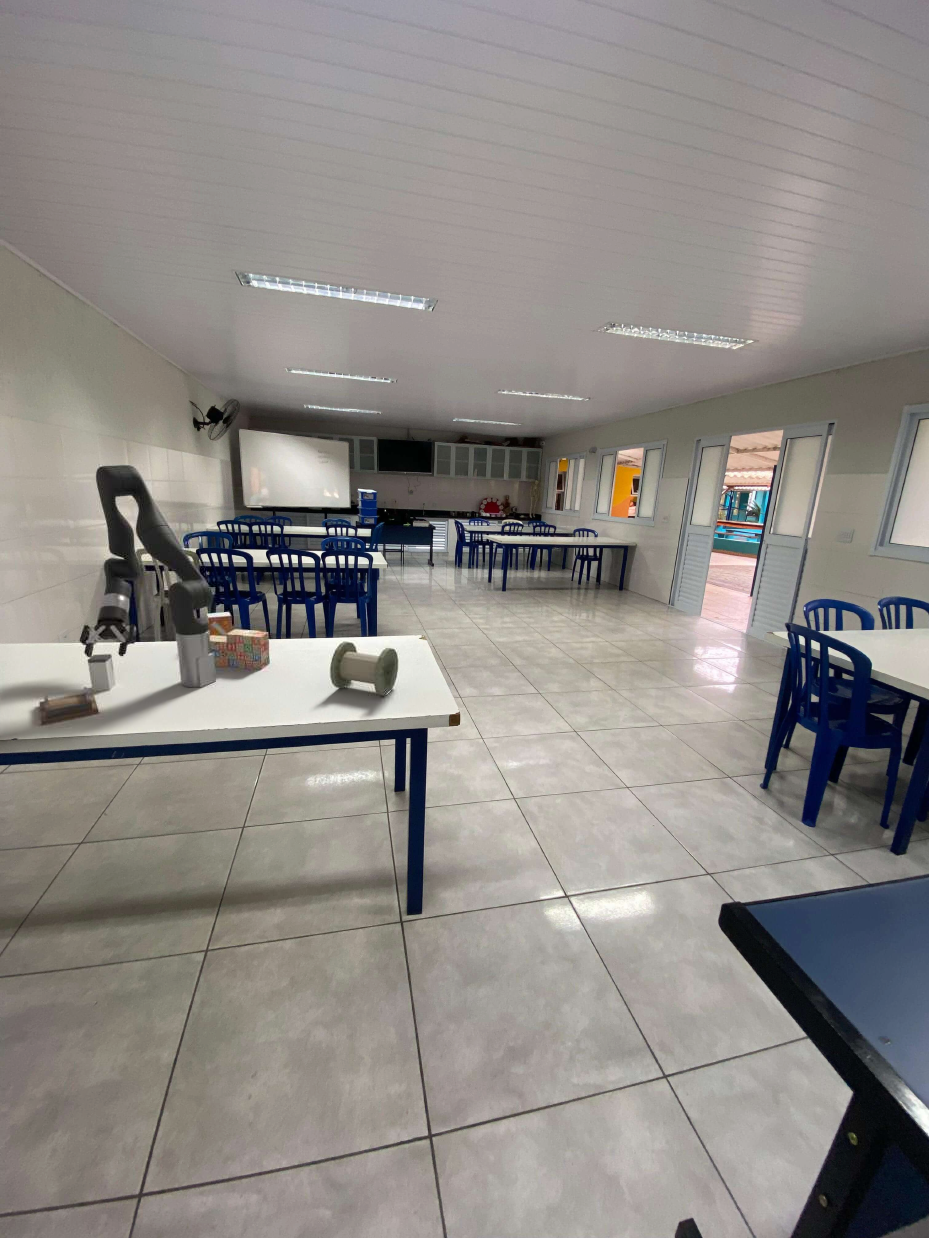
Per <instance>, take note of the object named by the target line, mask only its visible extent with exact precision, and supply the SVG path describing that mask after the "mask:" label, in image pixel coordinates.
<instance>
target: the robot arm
mask: <svg viewBox="0 0 929 1238" xmlns="http://www.w3.org/2000/svg"><path fill="white" fill-rule="evenodd" d="M95 481H96V486H97V490H98V496H99V499H100V503H101V507H102V510H103V514H104V518H105V522H106V528H107V537H108V538H107V540H108V550H109V553H110V554H111V555H114V556H116V557H117V558H116V557H110V558H108V559H107V560H105V562H104V564H103V571H104V576H105V588H104V594H103V597H102V601H101V603H100V608H99V611H98V616H97V620H96V621H97V622H96V624H95V625H94V626H89V625H87V624H84V626H83V628H82V631H81V634H80V637H79V642H80V644H82V645H83V646H84V651H83V653H84V654H85V656H87V658H91V657H92V656H93V652H94V646H95V645H96V644H97V643H100V642H101V641H102V640H104V641H105V640H106V641H107V640H113V641H114V640H117V639H119V641H120V643H119V647H118V652H117V653H118V656H120V657H124V655H126V654H127V650H128V645H131V644H132V645H134V644H136V636H137V627H136V626H135V624H134V623H131V624H129V625H127V620H128V615H129V613H130V612H129V611H130V600H131V595H132V585H131V584H130V583H128V582H127V580H128V581H136V580H138V579H140V577H141V576H142V574H143V569H142V568H143V567H142V564H141V562H140V560H139V557H138V555H137V553H136V549H135V548H136V547H135V533H136V536H137V538H138V541H140V543H141V544H142V546H143V548H144V550H145V551H146V552H147V553H148V554H149V556H151V557H152V558H153V559H155V560H156V561H158V562H159V563H160V564H163V565H164V566H166V567H167V568H168V569H170V570H171V571H173V572H174V573H175V575H177V576H178V577H179V579H180V580H181V581H177V582H174V583H172V584H171V585H170V586H169V588H168V592H167V593H168V594H167V595H168V596H167V597H168V598H167V599H168V604H169V610H170V616H171V621H172V624H173V626H174V629H175V635H176V636H175V638H176V647H177V655H178V657H177V658H178V664H179V665H178V666H179V672H180V673H179V675H180V683H181V686H183V687H186V688H203V687H205V686H207V685H209V684H212V683H214V682H216V681H217V676H216V674H217V673H216V665H215V661H214V654H213V653H211V644H210V633H209V623H208V621H207V619H202V618H197V617H195V613H194V611H196V610H200V609H203V608H207V607H210V605H212V604H213V601H214V596H213V591H212V588H211V586H210V585H209V584H208V582H207V580H206V579H205V577H204V576H203V575H202V574H201V572H200V571H199V570H198V568H197V567H196V566H195V565H194V563H193V562H192V561H191V559H190V557H189V556H188V555H187V553H186V551H185V550H184V548H183V546H182V545H181V544H180V542H179V541H178V539H177V536H176V534H174V533H175V532H173V530H172V528H171V527H170V525H169V524H168V522H167V520H166V519H165V518H164V516H163V515H162V512H161V511H160V510H159V507H158V506H157V505H156V503H155V501H154V499H153V497H152V494H151V493H150V490H149V489H148V487H147V484H146V483H145V481H144V479H143V476H142V474H141V473H140V472H139V470H138V469H137V468H136V467H134V466H133V465H126V464H119V465H102V466H98V468H96V471H95ZM130 496H131V497H132V498H133V499H134V501H135V503H136V504H137V508H138V512H137V513H138V514H137V519H136V524H135V533H134V529H133V527H132V525H131V524H130V522H129V521H128V520H127V519H126V518H125V516H124V515H123V514H122V513H121V511H120V510H119V508H118V507H117V502H116V500H117V499H116V498H118V497H130ZM125 580H126V581H125ZM126 631H127V632H128V637H127V638H126V639H125V637H124V636H123V634H124V633H125V632H126ZM93 632H94V633H93ZM90 636H91V637H90Z"/></svg>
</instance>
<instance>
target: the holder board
mask: <svg viewBox="0 0 929 1238" xmlns="http://www.w3.org/2000/svg"><path fill="white" fill-rule="evenodd" d="M38 705H39V716H40V724H41V726H44V725H51V724H55V723H59V722H63V721H69V720H73V719H78V718H83V717H88V716H92V715H97V714H100V711H99V706H98V704H97V701H96V697H95V694H94V691H91V692H89V690H88V686H85V687H83V693H80V694H73V695H69V696H64V697H59V698H53V699H49V695H48V694H47V693H46V694H43V700H41V701H39V702H38Z"/></svg>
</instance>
